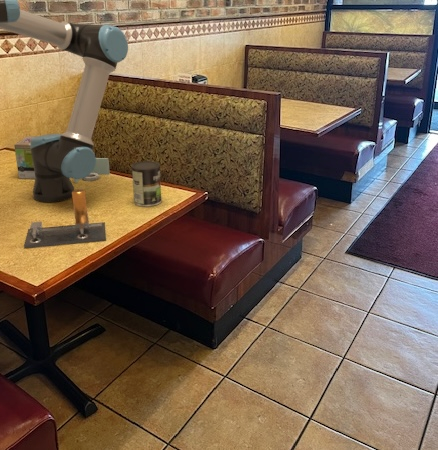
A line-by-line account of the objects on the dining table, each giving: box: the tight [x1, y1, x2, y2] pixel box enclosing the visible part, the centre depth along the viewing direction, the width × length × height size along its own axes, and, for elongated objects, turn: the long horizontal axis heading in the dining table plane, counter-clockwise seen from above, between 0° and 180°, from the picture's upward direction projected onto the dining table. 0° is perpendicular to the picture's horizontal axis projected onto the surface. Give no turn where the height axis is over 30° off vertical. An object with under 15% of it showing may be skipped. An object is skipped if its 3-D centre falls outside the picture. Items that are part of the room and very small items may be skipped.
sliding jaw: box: [71, 188, 90, 236], centre depth 156 cm, size 9×4×12 cm, turn 13°
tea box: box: [13, 135, 37, 180], centre depth 211 cm, size 15×10×15 cm
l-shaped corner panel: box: [73, 157, 111, 184], centre depth 207 cm, size 12×12×8 cm
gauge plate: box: [23, 221, 107, 249], centre depth 157 cm, size 12×24×4 cm, turn 103°
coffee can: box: [130, 160, 163, 208], centre depth 182 cm, size 10×10×14 cm
